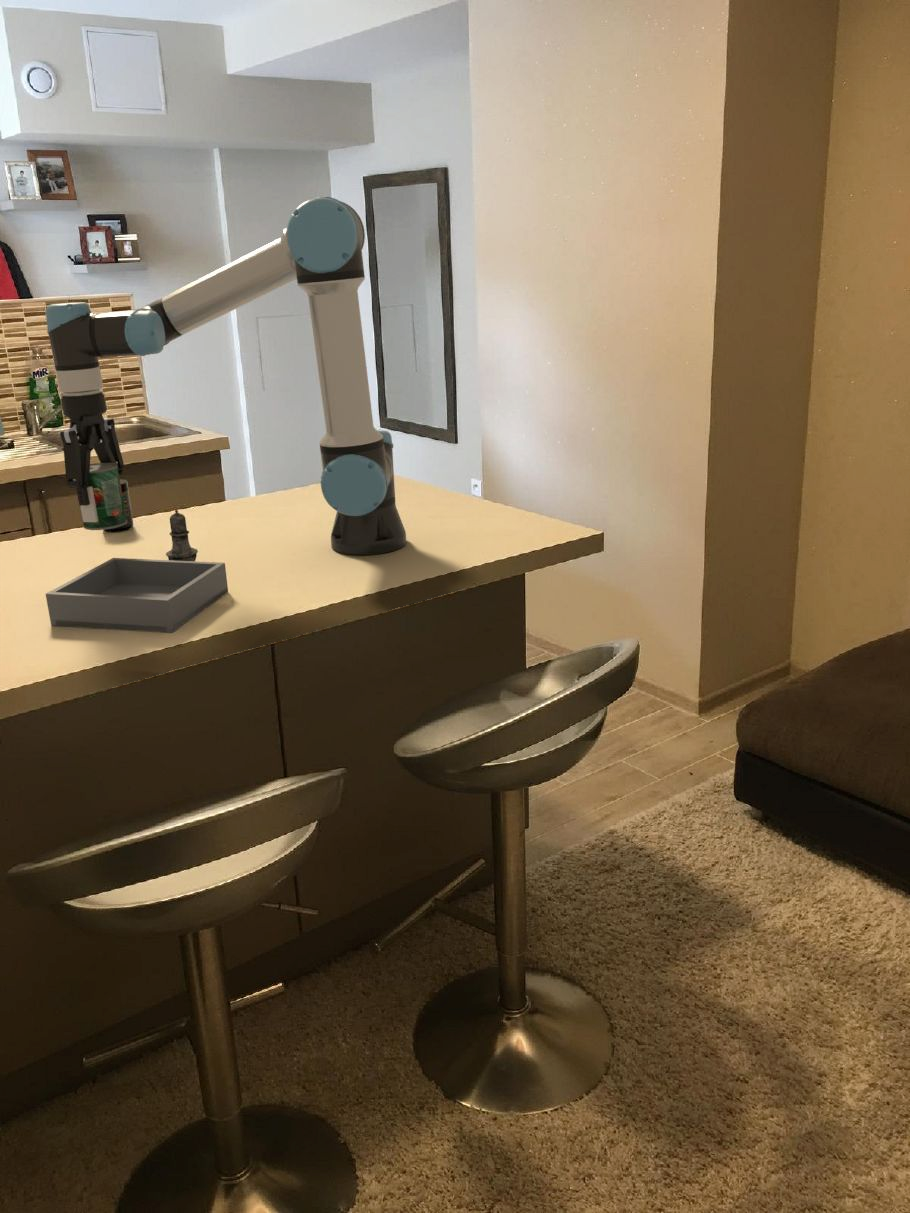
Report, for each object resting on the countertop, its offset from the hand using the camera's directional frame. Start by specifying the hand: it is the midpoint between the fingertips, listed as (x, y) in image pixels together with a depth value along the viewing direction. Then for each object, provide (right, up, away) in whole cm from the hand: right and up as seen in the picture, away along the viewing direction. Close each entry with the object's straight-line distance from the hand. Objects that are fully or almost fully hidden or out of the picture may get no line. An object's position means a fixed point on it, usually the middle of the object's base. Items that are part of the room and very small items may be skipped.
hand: (103, 515), depth 189 cm
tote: (+13, -17, -17) cm, 27 cm away
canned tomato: (0, -2, +1) cm, 2 cm away
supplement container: (-9, 0, +34) cm, 35 cm away
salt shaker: (+14, -10, +3) cm, 18 cm away
